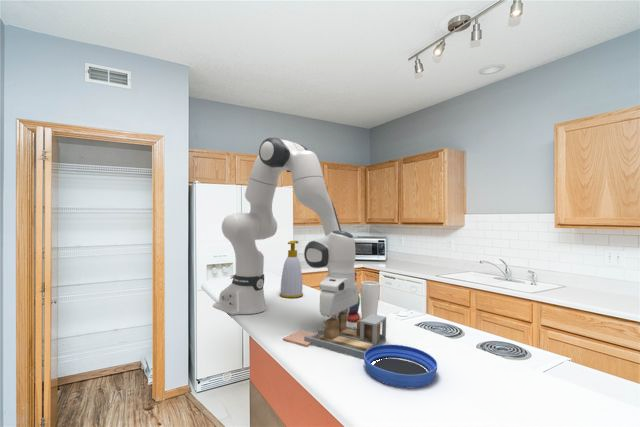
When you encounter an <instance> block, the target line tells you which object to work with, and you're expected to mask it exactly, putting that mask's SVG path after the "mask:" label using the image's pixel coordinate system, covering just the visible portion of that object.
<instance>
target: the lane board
mask: <svg viewBox="0 0 640 427" xmlns="http://www.w3.org/2000/svg"><path fill="white" fill-rule="evenodd" d="M365 324H368V325H373V337H372V342H370V341H366V340H364V325H365ZM378 324H380V325H381V324H382V326H381V333H380V340H379V341H378V342H377V325H378ZM347 328H348V329H352V330H356V329H357V328H355V327H350V326H347ZM315 334H316V335H317V336H316V335H314V336H316V337H313V336H312V338H311V337H308V336H305V337H304V341H307V342H311V345H312V346H315V347H318V348H322V349H327V350H330V351H333V352H337V353H340V354H344V355H346V356H350V355H351V356H350V357H354V358H357V359H362V360H364V353H365V351H361V350H357V349H353V348H349V347H346V346H342V345H338V344H334V343H330V342H327V341H323V340H319V337H318V335H320V336H321V335H323V334H324V329H320V328H319V329H317V333H315ZM339 336H342V337H346V338H350V339H354V340H358V341H362V342H366V343H370V344H374V346H378V345H384V343H386V341H387V316H384V315H378V314H377V315H374V314H371V315H369V316H368V317H366V318H364V319H363V320H361V321H360V339H358V338H354V337H350V336H345V335H341V334H339ZM315 338H317V339H315ZM311 345H310V346H311Z"/></svg>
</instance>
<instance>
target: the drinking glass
mask: <svg viewBox="0 0 640 427" xmlns="http://www.w3.org/2000/svg"><path fill="white" fill-rule="evenodd" d="M359 289H360V290H359V291H360V292H359V297H360V310H361V314H360V315H361V318H366V317H368V316H369V315H371V314H374V315H378V307H379V300H380V299H379V298H380V283H379V282H377V281H374V280H364V281H361V282H360V288H359Z"/></svg>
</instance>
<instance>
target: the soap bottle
mask: <svg viewBox="0 0 640 427" xmlns="http://www.w3.org/2000/svg"><path fill="white" fill-rule="evenodd" d="M296 244H299V241H298V240H290V241H288V242H287V245H290V249H289V250H287V251H288V252H287V257H286V258H285V260H284V264H283V267H282V271H281V272H282V273H281V274H282V275H281V280H280V292H279V296H281V297H283V298H285V297H286V299H297V298H296V297H298V298H301V297H303V295H304V292H303V274H302V266H301V261H300V259H299V257H298V250H296V249H295V247H296ZM300 296H301V297H300Z"/></svg>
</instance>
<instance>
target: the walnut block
mask: <svg viewBox="0 0 640 427" xmlns="http://www.w3.org/2000/svg"><path fill="white" fill-rule="evenodd" d="M363 319H364V318H362V317H360V319H359V320H358V321H357V322H356V328H355V329H356V336H360V321H361V320H363ZM380 334H381V323H380V324H378V325H377V338H378V337H379V336H380ZM372 337H373V325H368V324H365V325H364V338H368V339H372Z"/></svg>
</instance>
